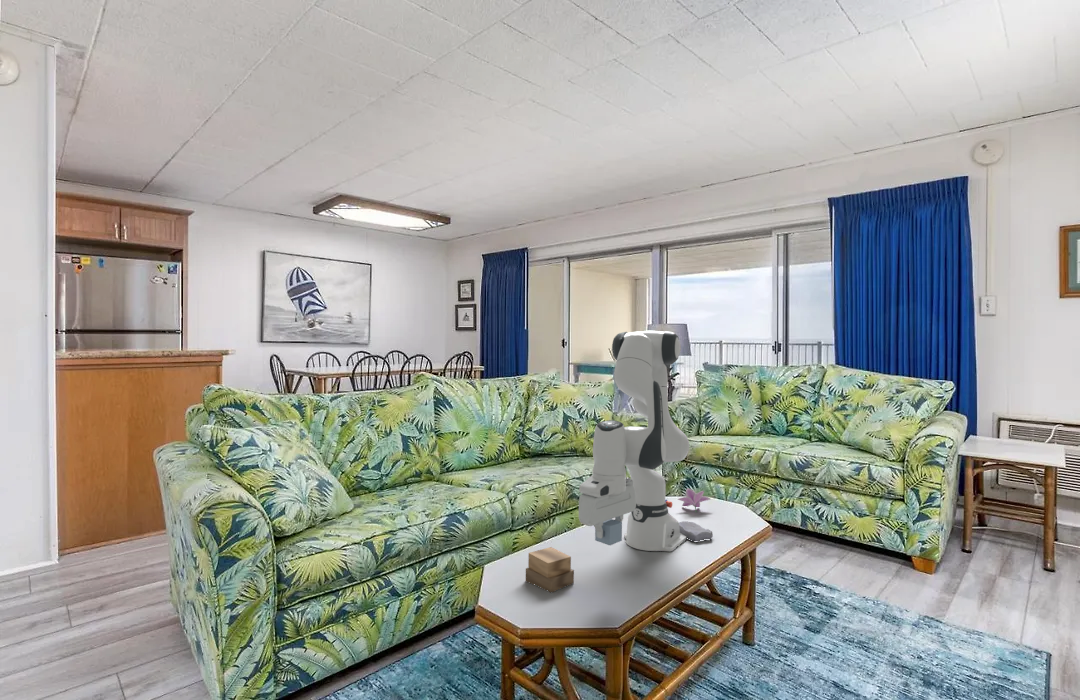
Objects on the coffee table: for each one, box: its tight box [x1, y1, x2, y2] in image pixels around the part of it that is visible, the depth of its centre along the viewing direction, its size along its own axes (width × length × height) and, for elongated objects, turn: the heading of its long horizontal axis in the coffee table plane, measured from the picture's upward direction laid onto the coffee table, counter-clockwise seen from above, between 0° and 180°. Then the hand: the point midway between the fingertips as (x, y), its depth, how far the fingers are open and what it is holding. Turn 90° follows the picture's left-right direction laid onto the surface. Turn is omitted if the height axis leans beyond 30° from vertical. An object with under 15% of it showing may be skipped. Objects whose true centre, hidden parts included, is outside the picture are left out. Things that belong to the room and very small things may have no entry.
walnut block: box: [525, 567, 575, 593], centre depth 157 cm, size 9×10×4 cm
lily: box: [677, 487, 711, 513], centre depth 226 cm, size 12×12×10 cm
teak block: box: [527, 546, 572, 578], centre depth 157 cm, size 8×9×4 cm
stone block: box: [678, 520, 714, 542], centre depth 196 cm, size 12×5×10 cm
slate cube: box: [594, 518, 623, 546], centre depth 149 cm, size 5×5×5 cm
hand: (608, 534), depth 149 cm, fingers closed on slate cube, 5 cm apart
